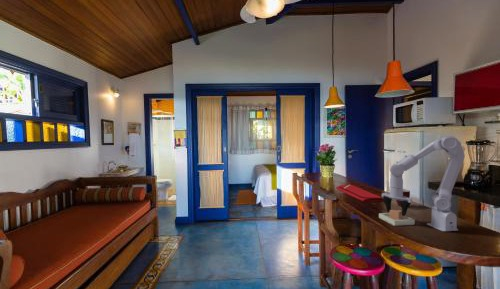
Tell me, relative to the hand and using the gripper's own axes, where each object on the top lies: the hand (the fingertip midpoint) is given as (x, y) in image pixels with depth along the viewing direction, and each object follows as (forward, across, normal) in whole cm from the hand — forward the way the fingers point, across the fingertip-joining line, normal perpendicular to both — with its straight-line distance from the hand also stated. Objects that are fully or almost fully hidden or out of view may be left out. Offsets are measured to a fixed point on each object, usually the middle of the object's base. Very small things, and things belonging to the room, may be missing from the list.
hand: (396, 213), depth 130 cm
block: (+3, 0, 0) cm, 4 cm away
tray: (+4, 0, 0) cm, 4 cm away
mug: (+4, +12, -30) cm, 33 cm away
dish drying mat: (+5, +48, -36) cm, 60 cm away
